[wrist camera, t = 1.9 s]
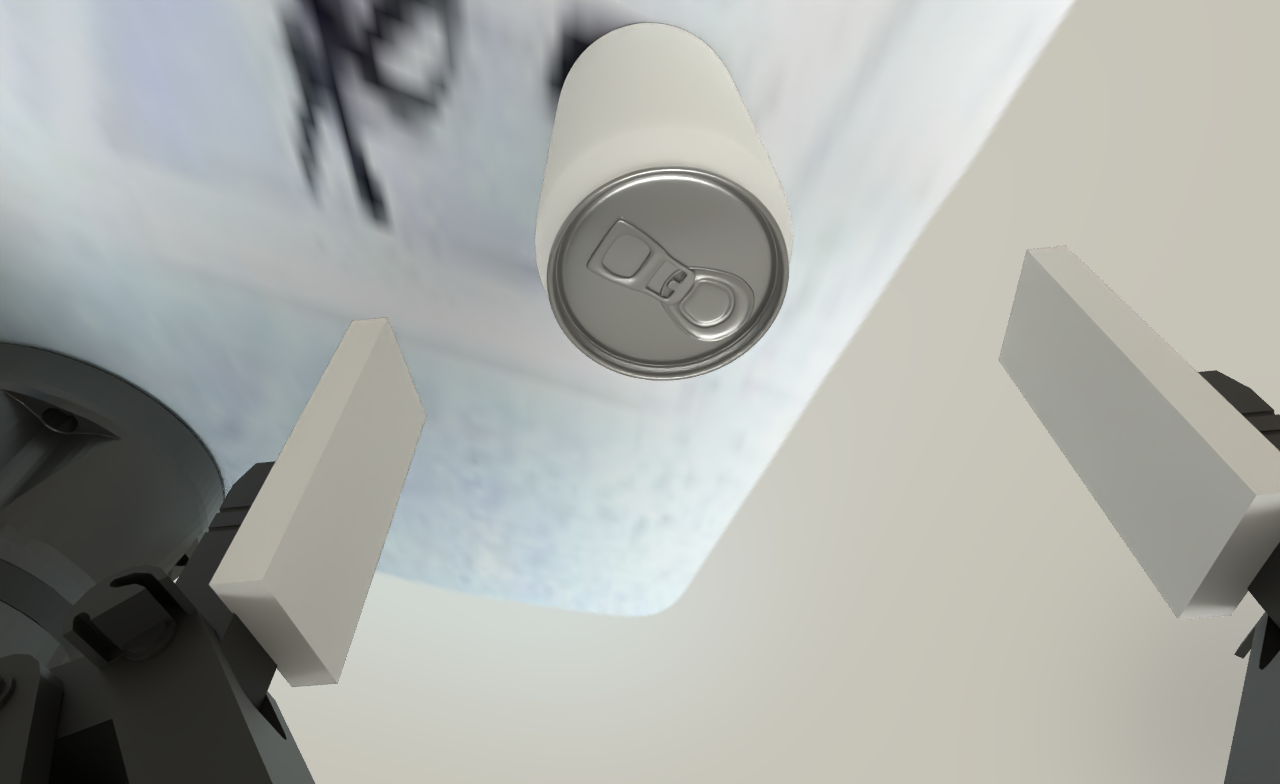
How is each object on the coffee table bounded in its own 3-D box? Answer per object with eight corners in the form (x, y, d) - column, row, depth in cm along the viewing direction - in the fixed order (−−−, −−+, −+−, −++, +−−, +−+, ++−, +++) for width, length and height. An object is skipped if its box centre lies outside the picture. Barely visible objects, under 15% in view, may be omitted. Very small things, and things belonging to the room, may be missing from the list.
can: (668, 231, 29) (696, 429, 19) (525, 143, 26) (478, 321, 17) (773, 91, 25) (868, 248, 16) (621, -25, 23) (627, 81, 14)
